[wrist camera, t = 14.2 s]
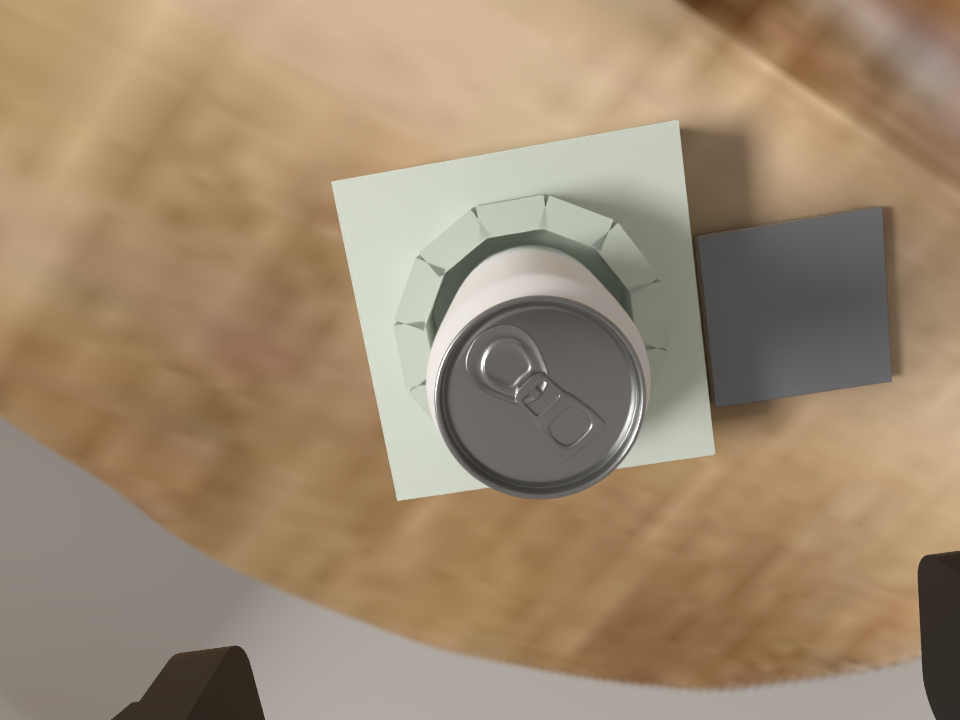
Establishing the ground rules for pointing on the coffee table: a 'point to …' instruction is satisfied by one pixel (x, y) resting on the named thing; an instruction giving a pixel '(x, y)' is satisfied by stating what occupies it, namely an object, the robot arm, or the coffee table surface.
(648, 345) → the pedestal block
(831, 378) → the slate coaster
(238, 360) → the coffee table surface
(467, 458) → the can
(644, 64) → the coffee table surface
